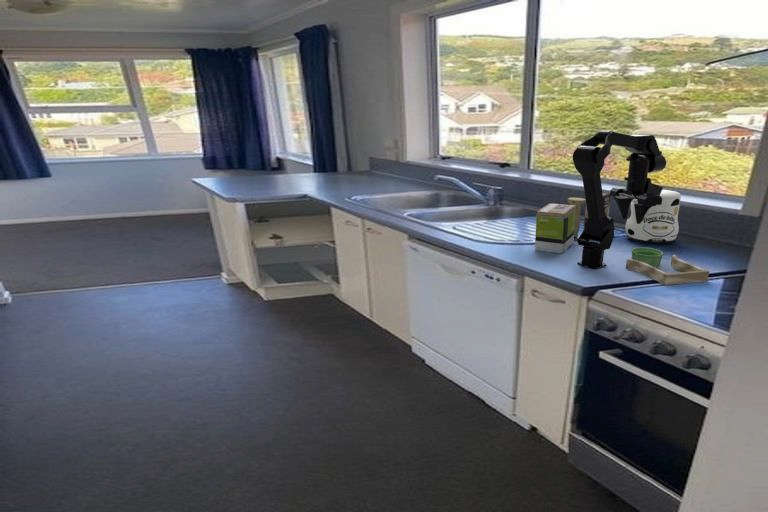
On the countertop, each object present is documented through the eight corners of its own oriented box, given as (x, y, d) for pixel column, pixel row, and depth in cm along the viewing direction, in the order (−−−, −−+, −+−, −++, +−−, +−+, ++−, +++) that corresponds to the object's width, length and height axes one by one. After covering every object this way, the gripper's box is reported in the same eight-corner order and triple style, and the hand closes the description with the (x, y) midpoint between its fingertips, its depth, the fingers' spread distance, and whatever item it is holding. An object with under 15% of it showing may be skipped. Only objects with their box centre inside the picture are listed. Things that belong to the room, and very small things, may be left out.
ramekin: (663, 270, 148) (665, 256, 147) (631, 267, 151) (632, 254, 150) (659, 261, 156) (661, 248, 155) (628, 258, 159) (630, 246, 158)
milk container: (655, 249, 168) (663, 199, 162) (613, 238, 183) (619, 191, 177) (687, 242, 175) (695, 193, 169) (644, 231, 190) (650, 186, 184)
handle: (568, 234, 190) (571, 197, 185) (584, 237, 185) (587, 199, 181) (562, 236, 187) (565, 198, 182) (578, 239, 182) (581, 201, 178)
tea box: (546, 240, 183) (549, 202, 179) (573, 243, 178) (577, 204, 173) (533, 250, 172) (536, 210, 167) (562, 254, 166) (565, 213, 161)
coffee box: (598, 237, 184) (603, 196, 179) (582, 235, 188) (586, 194, 183) (607, 232, 190) (612, 192, 185) (591, 230, 194) (595, 191, 189)
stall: (624, 267, 151) (625, 258, 150) (673, 263, 153) (674, 254, 152) (659, 285, 136) (661, 275, 135) (713, 280, 138) (714, 270, 137)
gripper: (681, 177, 147) (673, 226, 151) (641, 169, 164) (635, 214, 169) (648, 179, 145) (641, 228, 150) (611, 171, 163) (606, 215, 167)
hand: (631, 221), depth 159 cm, fingers open, 7 cm apart
